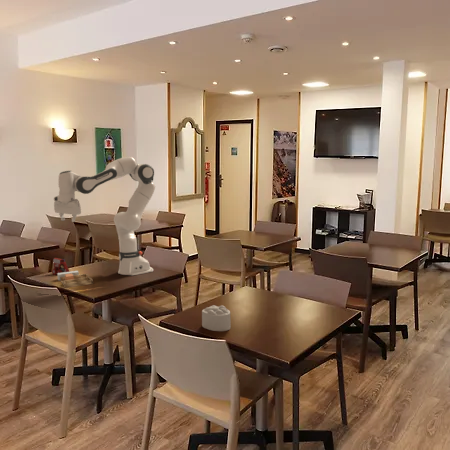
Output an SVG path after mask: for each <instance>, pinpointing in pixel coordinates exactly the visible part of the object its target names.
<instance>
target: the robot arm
mask: <svg viewBox="0 0 450 450" xmlns="http://www.w3.org/2000/svg"><path fill="white" fill-rule="evenodd" d="M128 175H129V176H130V177H131V179H132V180H133V181H135V182H138V183H137V188H135V191H134V192H133V194H132V195H131V197H130V199H129V200H128V206H127V210H126V211H120V212H117V213H116V214H115V215H114V217H113V223H114V225H115V229H116V233H117V237H118V242H119V243H118V245H119V252H118V258H119V259H118V260H119V267H118V272H117V273H118V274H120V275H123V276H138V275H142V274H147V273H153V272H154V268H153V267H151V266H150V262H149V260H148V259H146V258H144V257H143V256H142V255H143V252H142V251H141V250H138V243H137V242H138V241H137V239H138V238H137V237H136V235H135V231H138V230H139V229H140V227H141V225H142V222H141V221H142V217H143V214H144V211H145V209H146V208H147V206H148V204H149V202H150V200H151V199H152V197H153V194H154V192H155V189H156V186H155V183H154V182H153V181H154V177H155V170H154V168H153V167H152V165H150V164H147V163H137V161H136V159H135V158H134V157H133V156H123V157H119V158H117V159H115V160H112V161H111V162H109V163H108V164H106V167H105V169H104V170H103V171H102V172H99V173H97V174H95V175H92V176H83V175H81V174H78V173H75V172H74V171H72V170H64V171H61V172H60V173H59V175H58V188H59V189H58V190H59V191H58V195H57V196H54V197H53V201H54V203H53V211H54V212H55V213H56V214H57V213H58V215H59V217H60V221H66V217H65V216H64V214H65V215H71V216H72V218H71V219H70V222H72V223H75V222H76V218H77V216H79V215H81V214H82V211H81V210H82V209H81V204H80V200H78V198H76V195H75V192H78V193H82V194H84V195H86V194H88V195H89V194H90V193H92V192H93V191H94V190H95V189H96V188H97V187H99V186H100V185H103V184H105V183H107V182H110V181H112V180H117V179H120V178H122V177H124V176H128Z"/></svg>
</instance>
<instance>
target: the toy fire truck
mask: <svg viewBox="0 0 450 450" xmlns="http://www.w3.org/2000/svg"><path fill="white" fill-rule="evenodd" d="M52 261H53V268H52V269H51V274H52V275H53V276H56V275H57V273H63V272H70V269H69V267H68V264H67V262H66V261H65V259H64V258H58V257H53V260H52Z"/></svg>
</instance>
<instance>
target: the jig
mask: <svg viewBox="0 0 450 450" xmlns="http://www.w3.org/2000/svg"><path fill="white" fill-rule="evenodd" d="M73 276H74V279H71V280H65V277H60V279H61V281H60V282H61V284H62V285H63V287H64V288H72V287H80V286H88V285H94V279H93V278H92V277H91V276H90V275H89V274H88V273H81V274H80V273H79V275H73Z"/></svg>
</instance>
